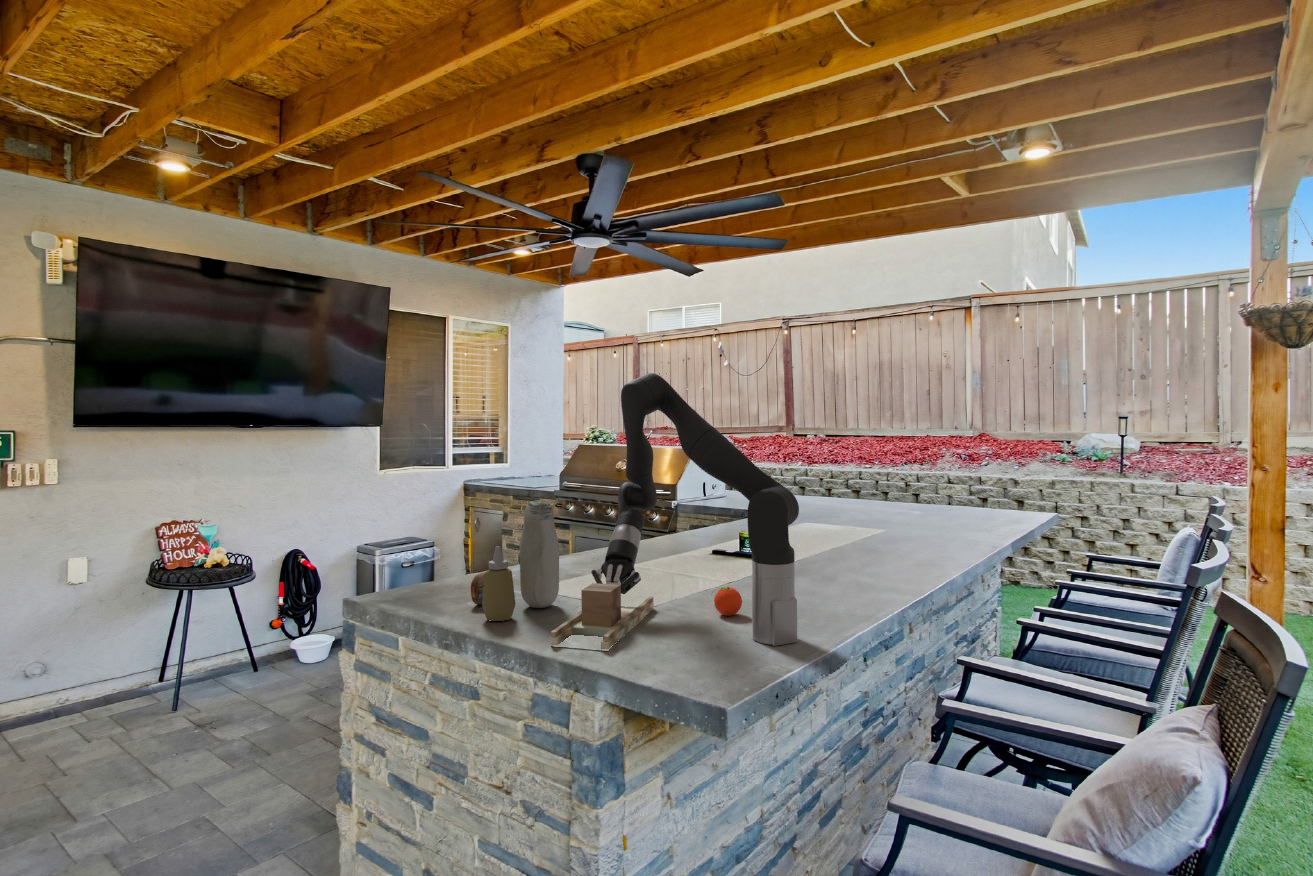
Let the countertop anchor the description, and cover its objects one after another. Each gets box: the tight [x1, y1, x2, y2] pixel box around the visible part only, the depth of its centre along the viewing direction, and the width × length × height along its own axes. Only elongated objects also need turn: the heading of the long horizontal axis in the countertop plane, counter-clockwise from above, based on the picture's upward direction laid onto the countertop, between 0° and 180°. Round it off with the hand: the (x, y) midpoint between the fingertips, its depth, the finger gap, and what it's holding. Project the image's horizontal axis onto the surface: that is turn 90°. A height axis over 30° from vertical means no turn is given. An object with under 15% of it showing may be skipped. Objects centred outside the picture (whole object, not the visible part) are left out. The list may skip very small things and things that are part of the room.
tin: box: [470, 570, 487, 606], centre depth 184 cm, size 15×3×8 cm, turn 162°
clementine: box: [710, 586, 743, 617], centre depth 168 cm, size 8×7×7 cm
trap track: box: [550, 596, 654, 649], centre depth 159 cm, size 34×13×3 cm, turn 164°
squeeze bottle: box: [481, 545, 517, 622], centre depth 166 cm, size 8×8×18 cm
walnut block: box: [581, 582, 622, 627], centre depth 156 cm, size 7×7×8 cm
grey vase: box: [519, 499, 560, 609], centre depth 177 cm, size 10×10×28 cm
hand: (607, 607), depth 160 cm, fingers closed
